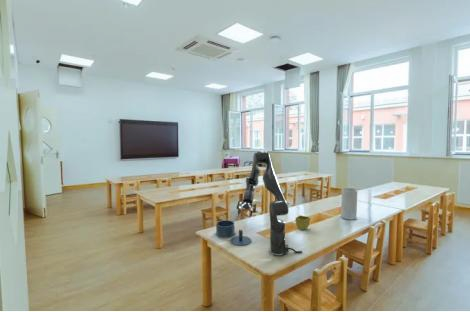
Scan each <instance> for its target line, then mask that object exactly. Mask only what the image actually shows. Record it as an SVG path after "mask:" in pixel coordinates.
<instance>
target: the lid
mask: <svg viewBox="0 0 470 312" xmlns="http://www.w3.org/2000/svg"><path fill="white" fill-rule="evenodd" d="M243 234H244V233H243V229H239V230H238V235H236V236H232V238H230V243H231V244H232V245H234V246H238V247H239V246H240V247H243V246H248V245H250V244H251V243H252V239H251V238H250V237H248V236H245V235H243Z"/></svg>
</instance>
